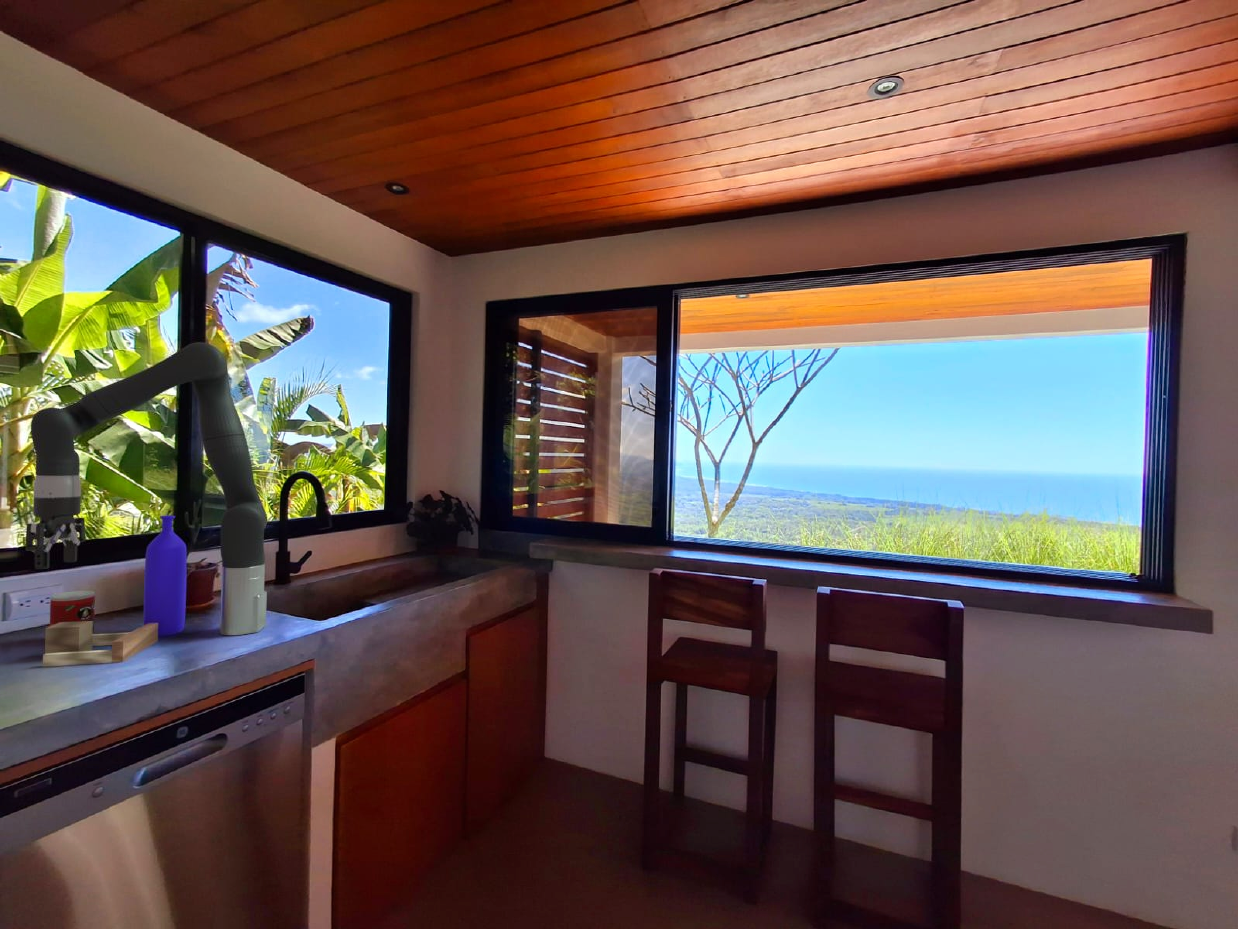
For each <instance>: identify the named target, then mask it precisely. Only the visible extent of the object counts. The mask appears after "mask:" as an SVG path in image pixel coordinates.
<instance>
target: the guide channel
mask: <svg viewBox="0 0 1238 929" xmlns="http://www.w3.org/2000/svg"><path fill="white" fill-rule="evenodd" d="M158 639H159V637H158V623H148V624H146V625H144V624H143V625H142V626H141V627H139V628H136V629H135V630H132V631H130V632H129V631H128V632H112V633H94V634H92V647H96V646H98V647H99V646H111V649H102V650H100V649H99V650H92V651H80V652H63V653H46V654H45V653H44V654H42V667H45V668H46V667H58V666H59V667H60V666H73V665H75V666H76V665H78V666H79V665H91V664H93V665H94V664H108V663H123V662H125V661H127V660H128V659H130V658H132V657H133V656H135V655H137V654H138V653H140V652H142V651H144V650H145V649H147V648H149V647H150V646H152V645H153V644H156V643H157V642H158V641H159V640H158Z"/></svg>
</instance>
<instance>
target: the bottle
mask: <svg viewBox="0 0 1238 929" xmlns="http://www.w3.org/2000/svg"><path fill="white" fill-rule="evenodd" d="M159 518H160V519H161V520H162V528H161V532H160V533H159V534H158V535H157V536H155V537H154V539H153V540H152V541H151V542H150V543H149V544H148V545H147V547H146V552H145V560H144V561H145V562H144V581H143V582H144V583H143V585H144V586H143V587H144V588H143V626H144V625H146V624H148V623H158V638H159V637H167V636H171V635H175V634H179V633H181V632H182V631H183V630H184V628H185V624H186V623H185V622H186V602H187V570H188V568H187V563H188V561H187V560H188V559H187V558H188V557H187V556H188V555H187V545H186V543H185V542H184V540H183V539H182V538H180V536H178V535H177V534H176V533H175V532H174V530H173V520H174V519H175V518H176V515H160V516H159Z"/></svg>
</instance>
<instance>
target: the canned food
mask: <svg viewBox="0 0 1238 929" xmlns="http://www.w3.org/2000/svg"><path fill="white" fill-rule="evenodd" d="M49 603H50V606H49V627H50V626H53V625H55V624H57V623H60V622H79V621H93V632H92V634H95V617H96V616H95V614H96V613H95V612H96V611H95V610H96V592H95V591H92V590H77V591H76V590H75V591H68V592H61V593H57V594H54V595H51V596H50V602H49Z"/></svg>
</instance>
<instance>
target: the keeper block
mask: <svg viewBox="0 0 1238 929" xmlns="http://www.w3.org/2000/svg"><path fill="white" fill-rule="evenodd" d="M92 632H93V621H79V622H60V623H57V624H55V625H53V626H50V625H49V626H48V627H45V633H44V634H45V637H44V640H45V641H44V654H46V653H63V652H80V651H93V646H92Z"/></svg>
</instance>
